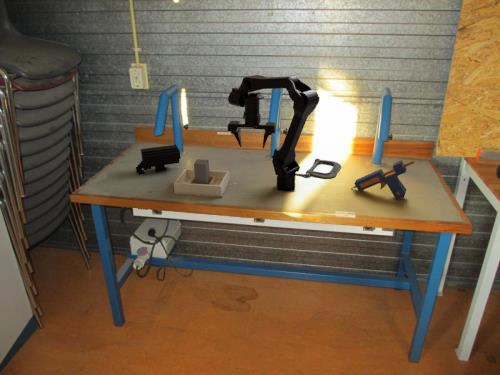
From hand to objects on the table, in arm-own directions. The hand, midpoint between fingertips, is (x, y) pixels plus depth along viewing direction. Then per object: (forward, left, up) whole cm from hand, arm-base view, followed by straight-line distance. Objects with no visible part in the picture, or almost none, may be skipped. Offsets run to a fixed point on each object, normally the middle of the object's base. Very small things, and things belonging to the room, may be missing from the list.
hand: (252, 147), depth 159 cm
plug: (+17, +15, -11) cm, 25 cm away
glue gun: (-49, +11, -12) cm, 52 cm away
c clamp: (-27, -9, -13) cm, 31 cm away
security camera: (+40, +2, -12) cm, 42 cm away
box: (+17, +15, -12) cm, 26 cm away
